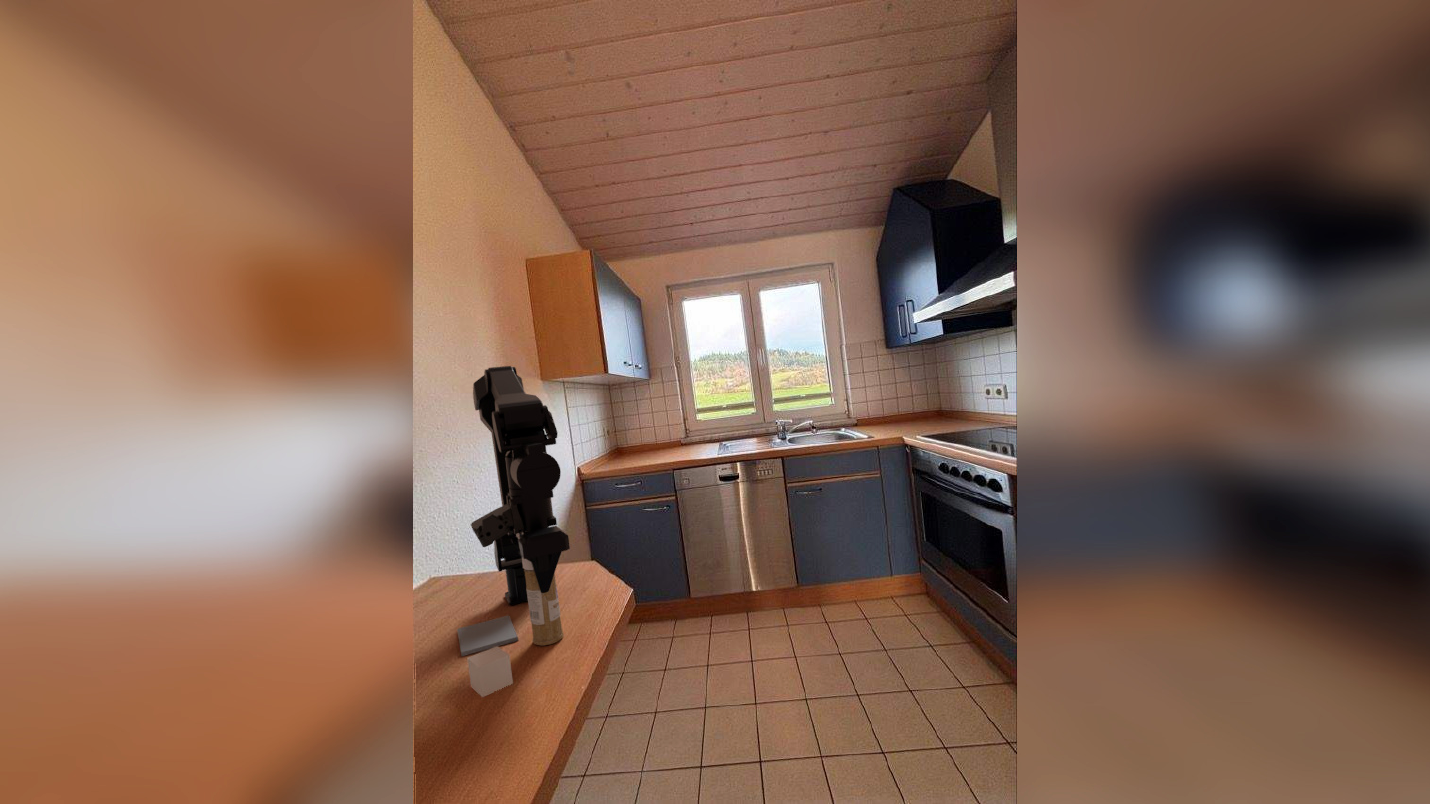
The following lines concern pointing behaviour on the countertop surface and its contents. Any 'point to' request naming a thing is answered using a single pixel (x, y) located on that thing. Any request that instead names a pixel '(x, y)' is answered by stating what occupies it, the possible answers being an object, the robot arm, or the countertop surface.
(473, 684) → the light grey block
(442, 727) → the countertop surface
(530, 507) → the robot arm
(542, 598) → the sprinkles bottle
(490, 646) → the grey mat
